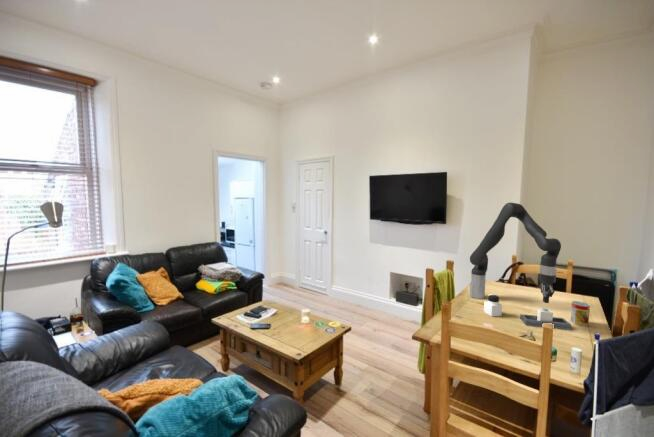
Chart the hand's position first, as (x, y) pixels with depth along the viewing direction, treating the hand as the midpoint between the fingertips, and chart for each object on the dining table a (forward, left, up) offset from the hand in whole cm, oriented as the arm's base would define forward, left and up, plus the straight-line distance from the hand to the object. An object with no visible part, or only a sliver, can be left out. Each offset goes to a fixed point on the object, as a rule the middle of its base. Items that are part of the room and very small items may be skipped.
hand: (545, 302), depth 167 cm
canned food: (+20, +6, -13) cm, 25 cm away
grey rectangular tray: (0, 0, -13) cm, 13 cm away
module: (0, 0, -12) cm, 12 cm away
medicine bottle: (-25, +8, -13) cm, 29 cm away
